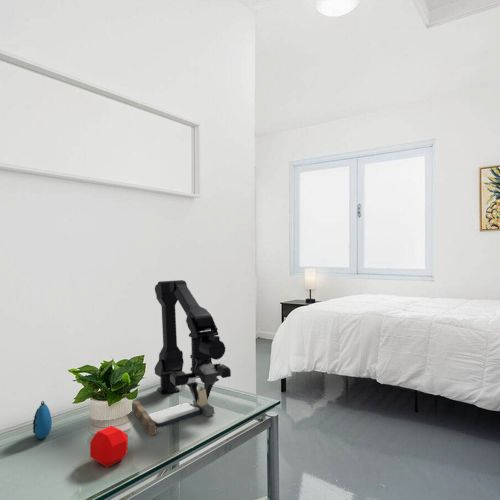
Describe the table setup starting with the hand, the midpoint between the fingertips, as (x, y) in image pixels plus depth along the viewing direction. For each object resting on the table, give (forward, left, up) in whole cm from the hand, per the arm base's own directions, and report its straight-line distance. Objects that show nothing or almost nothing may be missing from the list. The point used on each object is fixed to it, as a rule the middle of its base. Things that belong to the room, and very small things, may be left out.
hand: (201, 401), depth 138 cm
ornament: (-3, -46, -3) cm, 46 cm away
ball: (+19, -32, -3) cm, 37 cm away
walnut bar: (0, -18, -3) cm, 19 cm away
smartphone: (0, -9, -4) cm, 10 cm away
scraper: (0, +1, -3) cm, 3 cm away
